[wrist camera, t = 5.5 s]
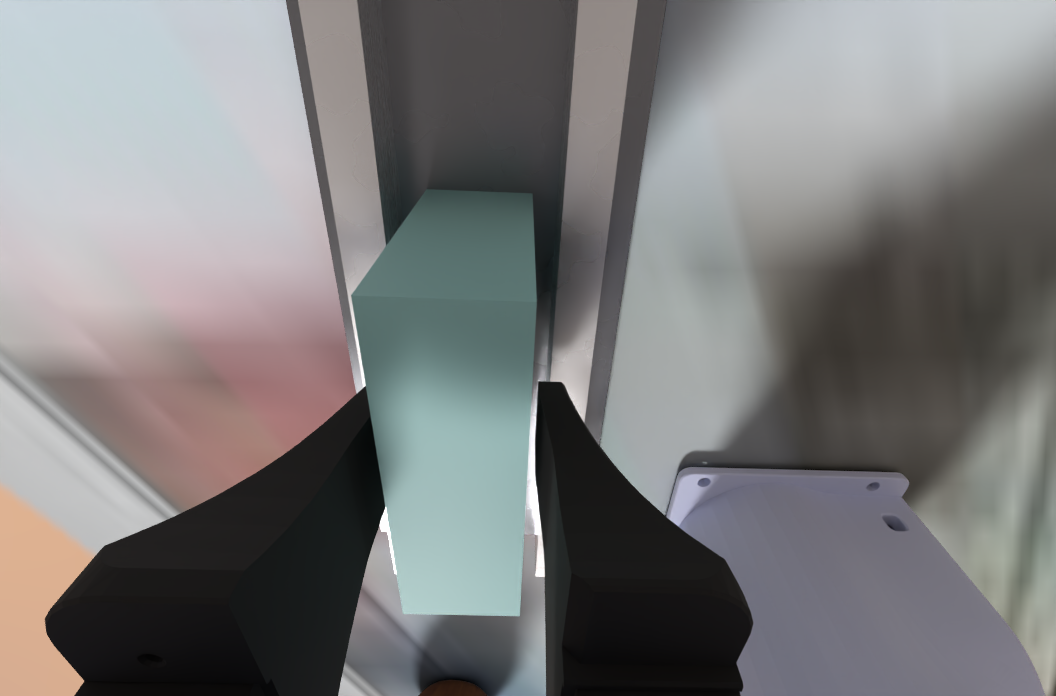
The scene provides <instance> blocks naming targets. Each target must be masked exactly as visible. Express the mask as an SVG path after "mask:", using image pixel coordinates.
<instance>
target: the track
mask: <svg viewBox="0 0 1056 696" xmlns="http://www.w3.org/2000/svg"><path fill="white" fill-rule="evenodd" d="M666 1H667V0H286V3H287V9H288V14H289V20H290V26H291V31H292V37H293V42H294V48H295V53H296V59H297V65H298V70H299V76H300V81H301V87H302V93H303V98H304V104H305V109H306V115H307V120H308V126H309V132H310V137H311V143H312V148H313V154H314V159H315V165H316V171H317V176H318V182H319V187H320V193H321V198H322V204H323V210H324V215H325V221H326V226H327V232H328V237H329V243H330V249H331V254H332V260H333V265H334V271H335V276H336V282H337V288H338V293H339V299H340V304H341V310H342V316H343V321H344V327H345V332H346V338H347V343H348V349H349V355H350V360H351V366H352V371H353V377H354V382H355V388H356V394H357V393H358V392H359V391H360V390H361V389H362V388H363V387H364V386H366V384H365V378H364V372H363V366H362V360H361V353H360V347H359V341H358V335H357V329H356V323H355V317H354V311H353V304H352V298H351V295H352V293H353V292H354V291H355V289H356V288H357V286H358V285H359V284H360V282H361V281H362V279H363V278H364V277H365V275H366V274H367V272H368V271H369V270H370V268H371V267H372V265H373V264H374V263H375V261H376V260H377V258H378V257H379V255H380V254H381V253H382V251H383V250H384V248H385V247H386V246H387V244H388V243H389V241H390V240H391V239H392V237H393V236H394V234H395V233H396V232H397V230H398V229H399V227H400V226H401V225H402V223H403V222H404V220H405V219H406V218H407V216H408V215H409V213H410V212H411V210H412V209H413V208H414V206H415V205H416V203H417V202H418V201H419V199H420V198H421V196H422V195H423V194H424V192H425V191H426V189H435V190H460V191H485V192H510V193H533V218H534V244H535V270H536V295H537V307H536V325H535V344H534V362H533V381H532V399H531V418H530V436H529V454H528V473H527V491H526V510H525V528H524V535H535V576H537V577H545V564H544V550H543V540H542V531H541V522H540V514H539V505H538V496H537V487H536V478H535V430H536V413H537V396H538V381H548V382H562V383H563V384H564V385H565V387H566V390H567V392H568V394H569V396H570V398H571V400H572V402H573V404H574V406H575V408H576V410H577V411H578V413H579V415H580V417H581V418H582V420H583V422H584V423H585V425H586V426H587V428H588V429H589V431H590V433H591V434H592V436H593V437H594V439H595V440H596V441H597V443H598V444H600V437H601V431H602V424H603V417H604V411H605V404H606V398H607V391H608V384H609V378H610V371H611V365H612V358H613V351H614V345H615V338H616V331H617V325H618V318H619V312H620V305H621V298H622V292H623V285H624V279H625V272H626V265H627V259H628V252H629V246H630V239H631V232H632V226H633V219H634V212H635V206H636V199H637V193H638V186H639V179H640V173H641V166H642V160H643V153H644V146H645V140H646V133H647V126H648V120H649V113H650V107H651V100H652V93H653V87H654V80H655V74H656V67H657V60H658V54H659V47H660V40H661V34H662V27H663V21H664V14H665V7H666ZM380 527H381V531H387V532H388V536H389V542H390V548H391V554H392V560H393V566H394V572H395V573H396V568H395V562H394V556H393V550H392V543H391V537H390V531H389V525H388V519H387V513H386V508H385V511H384V514H383V516H382V519H381V522H380Z"/></svg>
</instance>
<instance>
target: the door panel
mask: <svg viewBox="0 0 1056 696" xmlns="http://www.w3.org/2000/svg"><path fill="white" fill-rule="evenodd" d="M351 298H352V304H353V311H354V317H355V323H356V329H357V335H358V341H359V347H360V353H361V360H362V366H363V372H364V378H365V384H366V390H367V396H368V403H369V409H370V415H371V421H372V427H373V433H374V439H375V445H376V452H377V458H378V464H379V470H380V476H381V482H382V488H383V494H384V501H385V507H386V513H387V519H388V525H389V531H390V537H391V543H392V550H393V556H394V562H395V568H396V574H397V580H398V586H399V592H400V599H401V605H402V611H403V614H434V615H483V616H520V602H521V584H522V565H523V547H524V528H525V510H526V491H527V473H528V454H529V436H530V418H531V399H532V381H533V362H534V344H535V325H536V307H537V295H536V270H535V244H534V218H533V193H510V192H485V191H460V190H435V189H426V191H425V192H424V194H423V195H422V196H421V198H420V199H419V201H418V202H417V203H416V205H415V206H414V208H413V209H412V210H411V212H410V213H409V215H408V216H407V218H406V219H405V220H404V222H403V223H402V225H401V226H400V227H399V229H398V230H397V232H396V233H395V234H394V236H393V237H392V239H391V240H390V241H389V243H388V244H387V246H386V247H385V248H384V250H383V251H382V253H381V254H380V255H379V257H378V258H377V260H376V261H375V263H374V264H373V265H372V267H371V268H370V270H369V271H368V272H367V274H366V275H365V277H364V278H363V279H362V281H361V282H360V284H359V285H358V286H357V288H356V289H355V291H354V292H353V293H352V295H351Z"/></svg>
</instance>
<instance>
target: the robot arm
mask: <svg viewBox="0 0 1056 696" xmlns="http://www.w3.org/2000/svg"><path fill="white" fill-rule="evenodd" d="M535 478H536V487H537V496H538V505H539V514H540V522H541V531H542V540H543V550H544V564H545V622H546V696H1045V693H1044V690H1043V688H1042V685H1041V682H1040V680H1039V677H1038V674H1037V672H1036V670H1035V668H1034V666H1033V664H1032V662H1031V660H1030V658H1029V656H1028V654H1027V652H1026V650H1025V649H1024V647H1023V646H1022V644H1021V642H1020V641H1019V639H1018V638H1017V636H1016V635H1015V633H1014V632H1013V631H1012V630H1011V628H1010V627H1009V626H1008V624H1007V623H1006V622H1005V621H1004V619H1003V618H1002V617H1001V616H1000V615H999V613H998V612H997V611H996V610H995V609H994V607H993V606H992V605H991V604H990V603H989V601H988V600H987V599H986V598H985V597H984V595H983V594H982V593H981V592H980V591H979V589H978V588H977V587H976V586H975V585H974V583H973V582H972V581H971V580H970V579H969V577H968V576H967V575H966V574H965V573H964V571H963V570H962V569H961V568H960V567H959V565H958V564H957V563H956V562H955V561H954V559H953V558H952V557H951V556H950V555H949V553H948V552H947V551H946V550H945V549H944V547H943V546H942V545H941V544H940V543H939V541H938V540H937V539H936V538H935V537H934V535H933V534H932V533H931V532H930V531H929V529H928V528H927V527H926V526H925V525H924V523H923V522H922V521H921V520H920V519H919V517H918V516H917V515H916V514H915V513H914V511H913V510H912V509H911V508H910V507H909V505H908V504H907V503H906V502H905V501H904V500H903V498H902V496H903V495H904V493H905V491H906V490H907V488H908V486H909V481H908V480H907V478H906V477H905V476H904V475H903V474H901V473H897V472H861V471H823V470H785V469H747V468H709V467H688V468H685V469H683V470H681V471H680V472H679V474H678V475H677V479H676V483H675V486H674V490H673V494H672V497H671V501H670V505H669V508H668V512H667V516H665V515H663V514H662V513H661V512H660V511H659V510H658V509H657V508H656V507H655V506H653V505H652V504H651V503H650V502H649V501H648V500H647V499H646V498H645V497H644V496H642V495H641V494H640V493H639V492H638V491H637V489H636V488H635V487H634V486H633V485H632V484H631V483H630V482H629V481H628V480H627V479H626V478H625V477H624V476H623V474H622V473H621V472H620V471H619V470H618V469H617V468H616V466H615V465H614V464H613V463H612V461H611V460H610V459H609V458H608V456H607V455H606V454H605V452H604V451H603V450H602V448H601V447H600V446H599V444H598V443H597V441H596V440H595V439H594V437H593V436H592V434H591V433H590V431H589V429H588V428H587V426H586V425H585V423H584V422H583V420H582V418H581V417H580V415H579V413H578V411H577V410H576V408H575V406H574V404H573V402H572V400H571V398H570V396H569V394H568V392H567V390H566V387H565V385H564V384H563V383H562V382H548V381H538V396H537V413H536V430H535ZM702 478H705V479H702ZM700 479H702V480H700ZM385 508H386V507H385V501H384V494H383V488H382V482H381V476H380V470H379V464H378V458H377V452H376V445H375V439H374V433H373V427H372V421H371V415H370V409H369V403H368V396H367V390H366V386H364V387H363V388H362V389H361V390H360V391H359V392H358V393H357V394H356V395H355V396H354V397H353V398H352V399H351V400H349V401H348V402H347V403H346V404H345V405H344V406H343V407H342V408H341V409H340V410H338V411H337V412H336V413H335V414H334V415H333V416H332V417H331V418H329V419H328V420H327V421H326V422H325V423H324V424H323V425H321V426H320V427H319V428H318V429H316V430H315V431H314V432H313V433H311V434H310V435H309V436H308V437H306V438H305V439H304V440H303V441H302V442H300V443H299V444H298V445H296V446H295V447H294V448H292V449H291V450H290V451H288V452H287V453H285V454H284V455H283V456H281V457H280V458H278V459H277V460H275V461H274V462H272V463H271V464H269V465H268V466H266V467H265V468H263V469H262V470H260V471H258V472H257V473H255V474H253V475H252V476H250V477H248V478H246V479H245V480H243V481H241V482H240V483H238V484H236V485H234V486H233V487H231V488H229V489H227V490H226V491H224V492H222V493H221V494H219V495H217V496H215V497H213V498H211V499H209V500H207V501H205V502H203V503H201V504H199V505H197V506H195V507H193V508H191V509H189V510H187V511H185V512H183V513H181V514H179V515H177V516H175V517H172V518H170V519H168V520H166V521H163V522H161V523H159V524H157V525H154V526H152V527H149V528H147V529H145V530H142V531H140V532H137V533H135V534H133V535H130V536H128V537H125V538H123V539H121V540H118V541H116V542H113V543H110V544H108V545H105V546H104V547H103V548H102V549H101V550H100V551H99V553H98V554H97V555H96V556H95V557H94V558H93V560H92V561H91V562H90V563H89V564H88V565H87V567H86V568H85V569H84V570H83V571H82V572H81V574H80V575H79V576H78V577H77V578H76V579H75V581H74V582H73V583H72V584H71V585H70V587H69V588H68V589H67V590H66V591H65V592H64V594H63V595H62V596H61V597H60V598H59V599H58V601H57V602H56V603H55V604H54V605H53V607H52V608H51V609H50V611H49V612H48V614H47V616H46V618H45V624H46V632H47V635H48V637H49V638H50V640H51V642H52V643H53V644H54V646H55V647H56V648H57V650H58V651H59V652H60V653H61V654H62V655H63V657H65V659H66V660H67V661H68V662H69V663H70V664H71V666H72V667H73V668H74V669H75V670H76V671H77V673H78V674H79V675H80V676H81V677H82V678H83V680H84V683H83V684H82V686H81V687H80V689H79V690H78V692H77V693H76V694H75V696H338V692H339V687H340V682H341V677H342V672H343V667H344V662H345V658H346V653H347V648H348V643H349V638H350V634H351V629H352V625H353V620H354V616H355V611H356V607H357V603H358V598H359V594H360V590H361V586H362V582H363V577H364V573H365V569H366V565H367V561H368V558H369V554H370V551H371V548H372V545H373V542H374V539H375V536H376V533H377V530H378V528H379V525H380V522H381V519H382V516H383V514H384V511H385Z"/></svg>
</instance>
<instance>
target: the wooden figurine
mask: <svg viewBox="0 0 1056 696" xmlns="http://www.w3.org/2000/svg"><path fill="white" fill-rule="evenodd" d="M419 696H487V694H486V693H485V692H484V691H483V690H482V689H480V688H479V687H478V686H476V685H475V684H472V683H469V682H465V681H459V680H445V681H439V682H436V683H434V684H432V685H430V686H428V687H427V688H426V689H425V690H424V691H423V692H422V693H421V694H420V695H419Z"/></svg>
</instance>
